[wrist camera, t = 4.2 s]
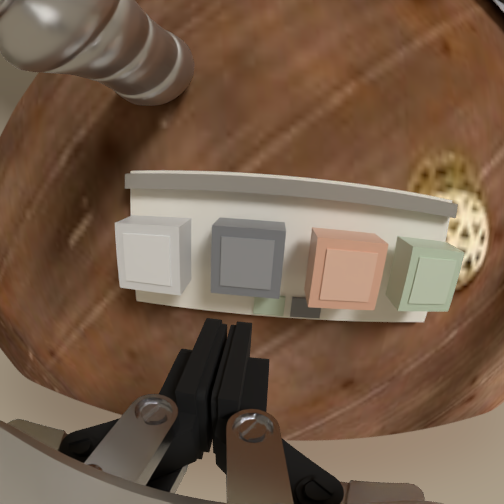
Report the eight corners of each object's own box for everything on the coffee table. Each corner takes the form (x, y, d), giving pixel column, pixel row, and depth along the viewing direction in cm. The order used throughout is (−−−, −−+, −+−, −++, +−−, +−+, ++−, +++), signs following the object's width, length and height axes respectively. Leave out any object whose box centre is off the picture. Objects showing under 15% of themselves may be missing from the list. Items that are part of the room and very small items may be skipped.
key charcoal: (284, 222, 22) (286, 231, 19) (278, 282, 24) (279, 299, 21) (219, 217, 23) (211, 225, 20) (218, 277, 24) (210, 293, 21)
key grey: (191, 218, 22) (178, 227, 19) (191, 279, 23) (180, 296, 20) (132, 215, 22) (114, 223, 19) (136, 273, 24) (119, 287, 21)
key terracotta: (374, 233, 21) (389, 244, 18) (363, 293, 22) (374, 311, 20) (312, 227, 21) (317, 237, 18) (304, 289, 23) (308, 307, 20)
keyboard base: (446, 198, 22) (457, 202, 20) (420, 317, 26) (427, 326, 24) (135, 170, 23) (125, 171, 21) (140, 296, 27) (132, 305, 25)
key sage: (445, 241, 21) (465, 252, 18) (432, 296, 22) (448, 311, 19) (397, 236, 21) (413, 247, 18) (385, 294, 22) (398, 311, 19)
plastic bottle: (188, 116, 22) (-23, 37, 3) (120, 105, 22) (-82, 70, 3) (210, 48, 20) (87, -117, 1) (141, 42, 20) (-18, -56, 1)
